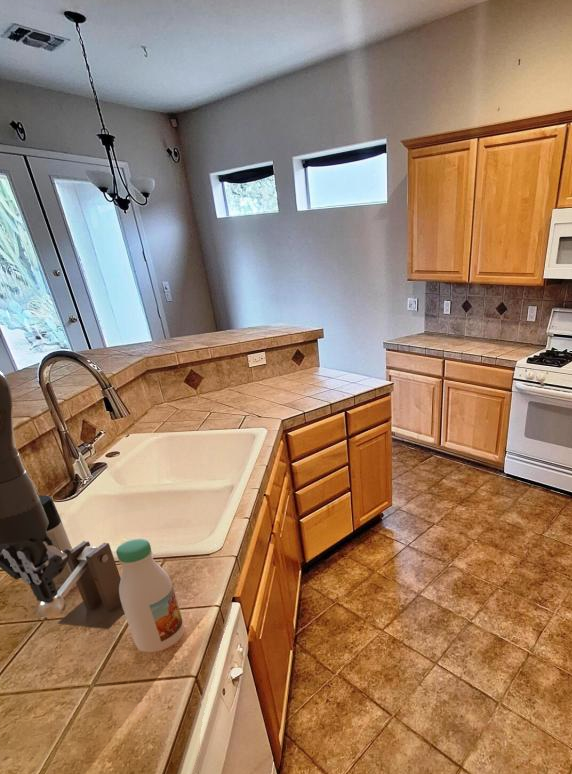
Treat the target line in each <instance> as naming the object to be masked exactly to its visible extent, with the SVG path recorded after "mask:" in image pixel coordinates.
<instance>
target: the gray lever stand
mask: <svg viewBox="0 0 572 774" xmlns="http://www.w3.org/2000/svg"><path fill="white" fill-rule="evenodd" d="M86 546H87V547H92V546H91V542H90V541H88V540H83V541H82V542H80V543H79V544H78V545H76V546H75V547H72V550H70V552H71V555H70V557H69V559H68V561H67V562H68V564H69V567H70V569H71V572H73V571H74V570H75V569H76V567H77V566H78V565H79V563H80V562H79V561H78V560H77V559H76V558H77V557H78V556H79V555H80V553H81V552H82V551H83V550H84V548H85V547H86ZM86 559H87V562H88V565H89V567H88V568H87V569H86V570H85V572H84V573H83V574H82V575H81V577H80V578H79V579H78V581H77V582H76V584H77V587H76V588H77V590H78V591H79V594H80V597H81V599H82V601H81V602H80V603H79V604H78V605H77V606H75V607H74V608H73V609H72V610H71V611H70V612H69V613H67V614H66V615H65V616H64V617H63V618H62V619H60V620H59V621H58V622H57V624H61V625H69V626H78V627H85V628H94V629H102V630H103V629H104V630H109V629H110V628H111V627H113V625H114V624H115V623H116V622H117V621H118V620H120V618H121V617H122V616H123V615H125V613H124V610H123V607H122V604H121V600H120V595H119V585H120V580H121V575H120V572H119V569H118V565H117V563H116V560H115V557H114V554H113V551H112V549H111V545H110V543H109V542H102V543H101V544H100V545H99V546H98V547H97V548H96V549H95V550H94V551H92V552H91V553H90V554H88V555H87V556H86Z"/></svg>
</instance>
